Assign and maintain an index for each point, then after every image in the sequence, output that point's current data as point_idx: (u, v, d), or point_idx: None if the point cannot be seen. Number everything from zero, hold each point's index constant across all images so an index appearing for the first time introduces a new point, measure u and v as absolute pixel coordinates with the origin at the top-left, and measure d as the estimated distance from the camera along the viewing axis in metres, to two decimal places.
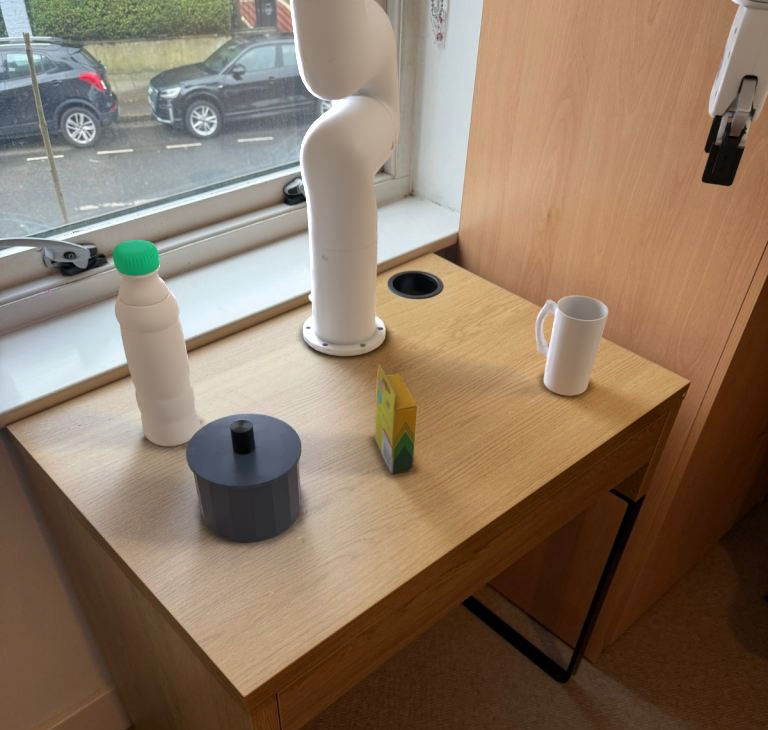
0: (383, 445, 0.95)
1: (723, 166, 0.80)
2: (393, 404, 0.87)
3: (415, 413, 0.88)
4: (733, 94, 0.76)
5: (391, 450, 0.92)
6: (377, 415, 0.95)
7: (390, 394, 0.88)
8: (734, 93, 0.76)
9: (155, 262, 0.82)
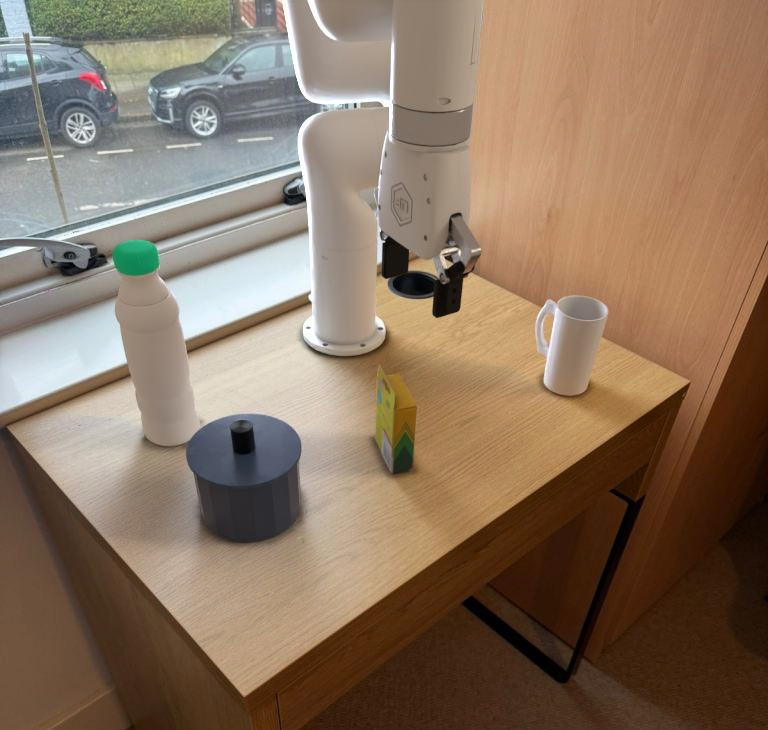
0: (383, 445, 0.95)
1: (453, 298, 0.77)
2: (393, 404, 0.87)
3: (415, 413, 0.88)
4: (445, 235, 0.72)
5: (391, 450, 0.92)
6: (377, 415, 0.95)
7: (390, 394, 0.88)
8: (446, 233, 0.72)
9: (155, 262, 0.82)
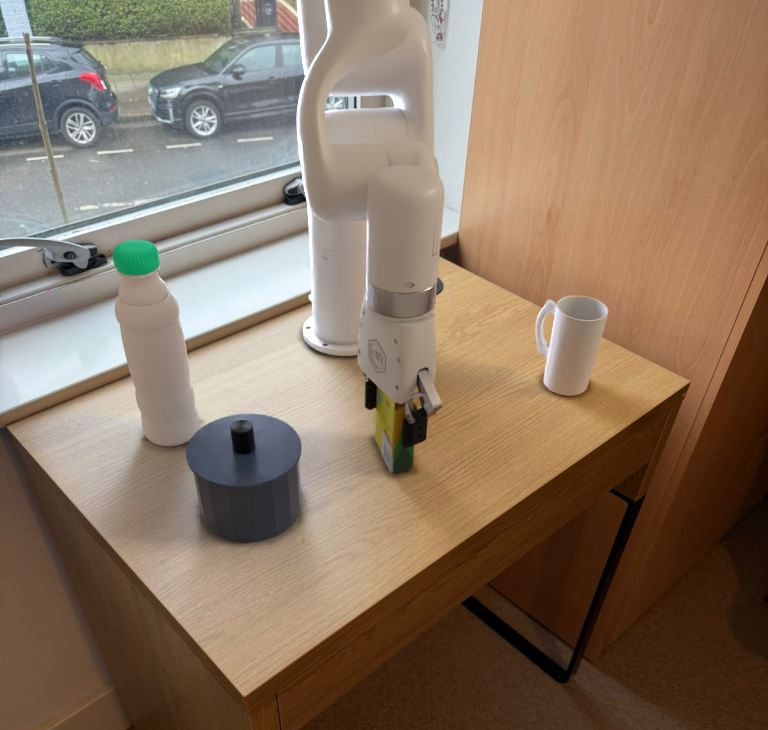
0: (383, 445, 0.95)
1: (419, 433, 0.89)
2: (393, 404, 0.87)
3: None
4: (414, 385, 0.83)
5: (391, 450, 0.92)
6: (377, 415, 0.95)
7: None
8: (414, 384, 0.83)
9: (155, 262, 0.82)
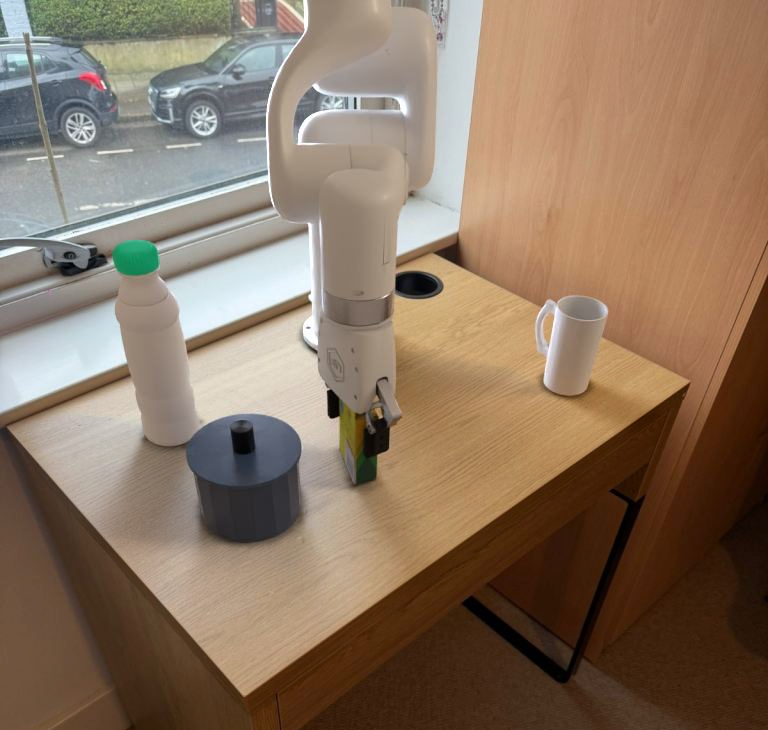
0: (346, 455, 0.92)
1: (381, 443, 0.86)
2: (354, 414, 0.85)
3: None
4: (373, 395, 0.81)
5: (353, 460, 0.89)
6: (340, 424, 0.93)
7: None
8: (374, 394, 0.81)
9: (155, 262, 0.82)
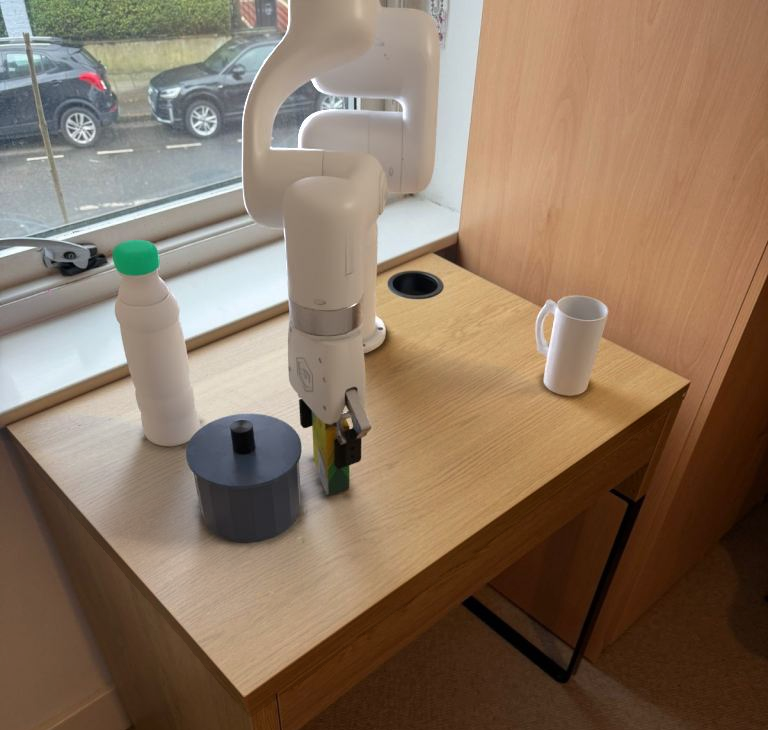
0: (319, 465, 0.91)
1: (352, 454, 0.85)
2: (324, 424, 0.83)
3: None
4: (342, 405, 0.80)
5: (325, 471, 0.88)
6: (313, 433, 0.92)
7: None
8: (343, 404, 0.80)
9: (155, 262, 0.82)
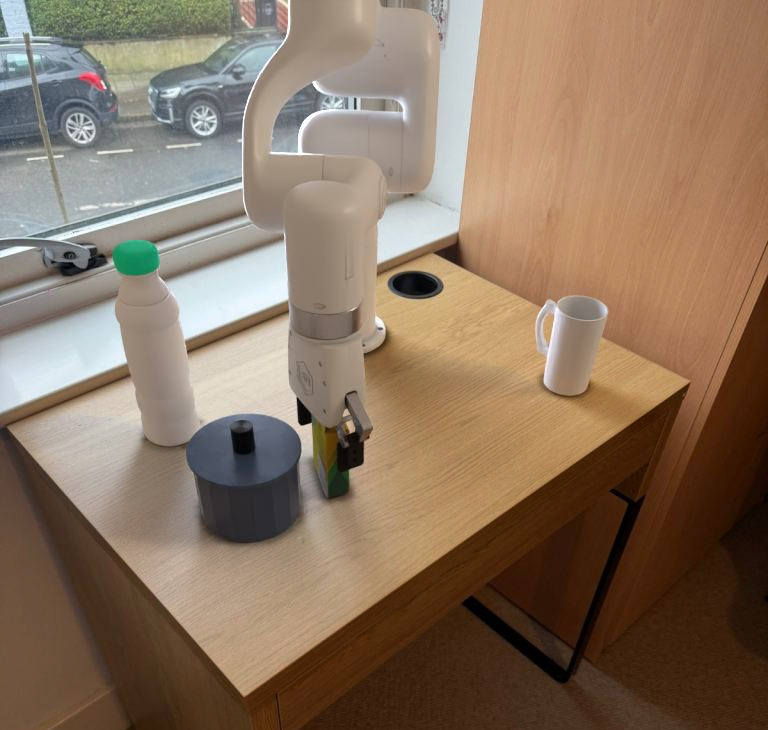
0: (319, 468, 0.91)
1: (355, 457, 0.84)
2: (323, 427, 0.84)
3: None
4: (342, 409, 0.80)
5: (325, 474, 0.88)
6: (313, 436, 0.92)
7: None
8: (343, 408, 0.80)
9: (155, 262, 0.82)
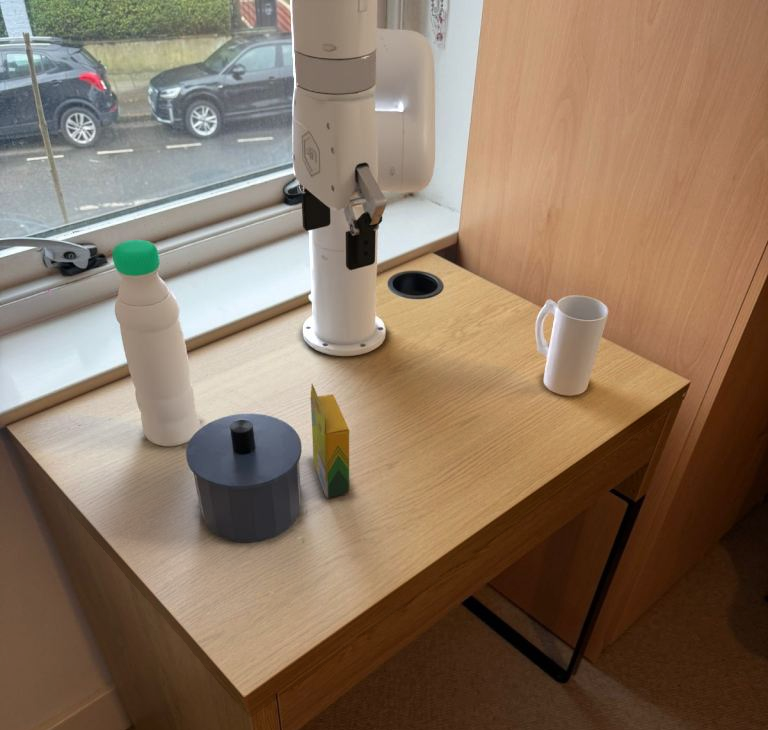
0: (319, 468, 0.91)
1: (365, 250, 0.77)
2: (323, 427, 0.84)
3: (347, 436, 0.85)
4: (352, 185, 0.72)
5: (325, 474, 0.88)
6: (313, 436, 0.92)
7: (321, 417, 0.84)
8: (353, 184, 0.72)
9: (155, 262, 0.82)
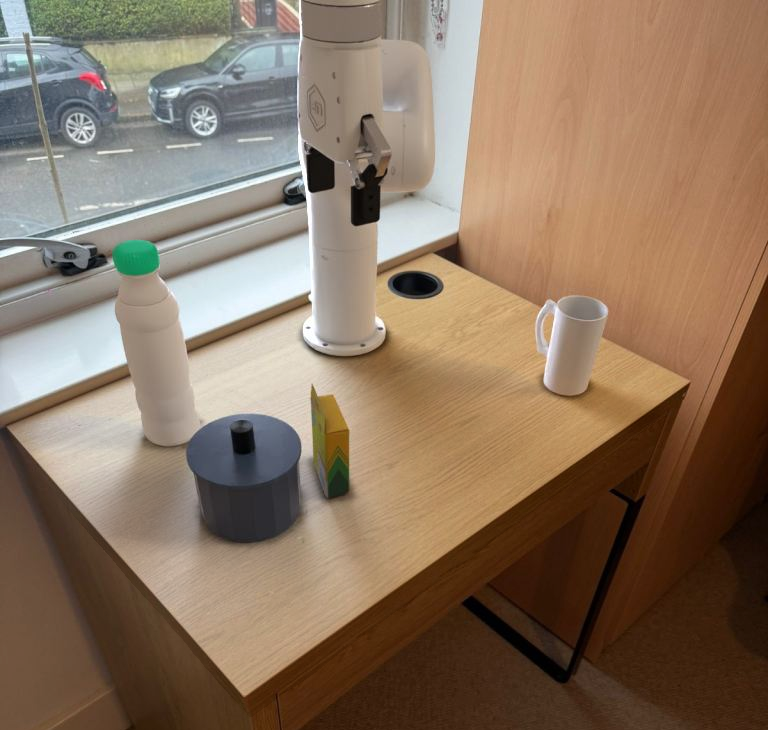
0: (319, 468, 0.91)
1: (370, 205, 0.77)
2: (323, 427, 0.84)
3: (347, 436, 0.85)
4: (357, 137, 0.73)
5: (325, 474, 0.88)
6: (313, 436, 0.92)
7: (321, 417, 0.84)
8: (358, 135, 0.73)
9: (155, 262, 0.82)
